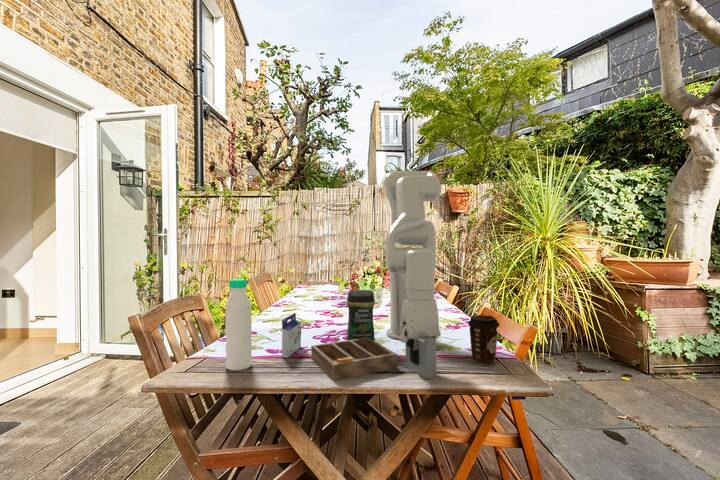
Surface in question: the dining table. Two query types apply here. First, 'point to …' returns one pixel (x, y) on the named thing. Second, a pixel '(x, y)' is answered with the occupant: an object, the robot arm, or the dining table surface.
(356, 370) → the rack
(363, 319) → the coffee jar
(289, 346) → the ink box
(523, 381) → the dining table surface
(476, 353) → the coffee cup
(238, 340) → the water bottle
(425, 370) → the panel
